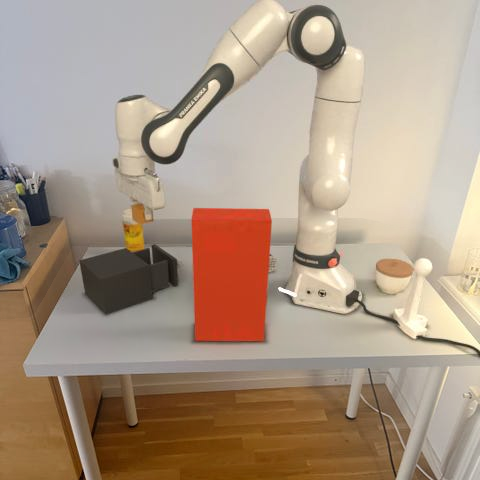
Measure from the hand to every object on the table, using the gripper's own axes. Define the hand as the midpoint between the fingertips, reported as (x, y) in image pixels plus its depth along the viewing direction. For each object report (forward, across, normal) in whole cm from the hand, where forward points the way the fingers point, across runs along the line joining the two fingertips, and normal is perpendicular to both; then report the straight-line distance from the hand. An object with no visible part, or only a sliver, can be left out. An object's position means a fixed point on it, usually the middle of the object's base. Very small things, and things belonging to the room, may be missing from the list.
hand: (142, 216), depth 127 cm
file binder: (+22, -34, -4) cm, 41 cm away
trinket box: (+23, -44, -58) cm, 76 cm away
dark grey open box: (+22, 0, +10) cm, 24 cm away
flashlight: (+22, -7, -37) cm, 44 cm away
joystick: (+23, -60, -46) cm, 79 cm away
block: (+1, 0, 0) cm, 1 cm away
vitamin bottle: (+22, +22, -7) cm, 32 cm away
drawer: (+21, 0, -2) cm, 21 cm away
